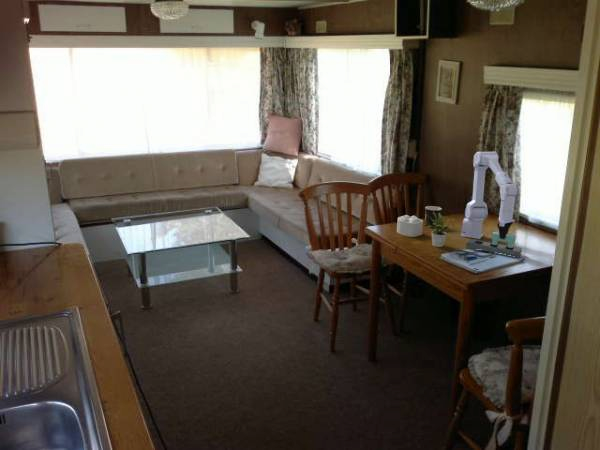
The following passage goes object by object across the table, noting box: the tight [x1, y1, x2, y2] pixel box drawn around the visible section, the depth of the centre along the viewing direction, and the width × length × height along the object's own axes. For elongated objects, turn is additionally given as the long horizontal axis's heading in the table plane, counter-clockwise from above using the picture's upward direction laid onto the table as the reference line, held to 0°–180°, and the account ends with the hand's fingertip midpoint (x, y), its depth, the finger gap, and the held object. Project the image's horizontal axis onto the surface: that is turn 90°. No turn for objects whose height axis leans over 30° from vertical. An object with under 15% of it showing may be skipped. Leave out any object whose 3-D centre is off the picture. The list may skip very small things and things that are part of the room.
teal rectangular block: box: [491, 231, 517, 248], centre depth 255 cm, size 10×3×5 cm, turn 59°
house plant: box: [427, 212, 454, 248], centre depth 264 cm, size 14×14×16 cm
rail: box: [465, 238, 523, 259], centre depth 258 cm, size 24×6×3 cm, turn 59°
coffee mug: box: [424, 205, 442, 229], centre depth 295 cm, size 12×9×10 cm
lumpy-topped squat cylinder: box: [396, 214, 424, 238], centre depth 283 cm, size 10×13×9 cm
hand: (502, 237), depth 255 cm, fingers closed on teal rectangular block, 3 cm apart
